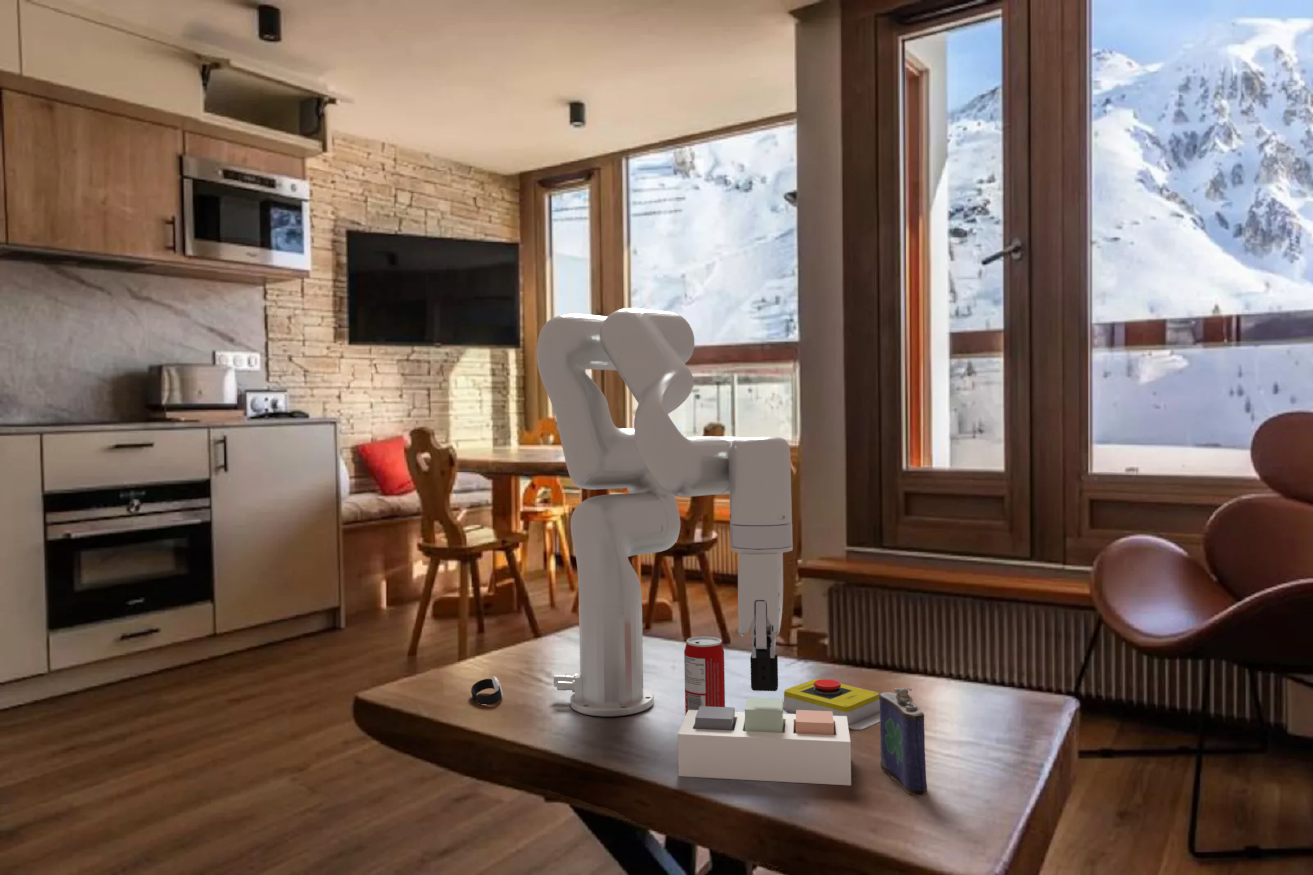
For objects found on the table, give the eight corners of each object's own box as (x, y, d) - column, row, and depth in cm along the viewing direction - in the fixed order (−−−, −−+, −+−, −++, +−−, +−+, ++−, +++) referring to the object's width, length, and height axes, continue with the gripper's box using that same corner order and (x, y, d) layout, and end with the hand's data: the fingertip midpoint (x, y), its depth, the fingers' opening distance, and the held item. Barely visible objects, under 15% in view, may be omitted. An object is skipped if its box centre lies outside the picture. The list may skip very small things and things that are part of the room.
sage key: (745, 742, 101) (744, 709, 101) (747, 730, 106) (747, 698, 106) (782, 744, 101) (781, 710, 101) (783, 731, 105) (782, 699, 105)
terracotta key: (796, 755, 100) (795, 721, 100) (796, 742, 105) (796, 709, 105) (834, 757, 100) (833, 723, 100) (832, 743, 104) (832, 711, 104)
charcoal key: (695, 750, 103) (695, 717, 103) (700, 737, 107) (699, 706, 107) (732, 752, 102) (731, 719, 102) (735, 739, 106) (734, 707, 106)
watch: (508, 705, 129) (508, 681, 129) (478, 710, 127) (478, 685, 127) (495, 691, 136) (494, 669, 136) (466, 696, 134) (465, 673, 134)
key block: (678, 776, 101) (677, 734, 101) (688, 748, 109) (688, 709, 109) (851, 785, 97) (850, 741, 97) (847, 756, 106) (846, 716, 106)
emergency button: (809, 668, 132) (895, 687, 121) (810, 696, 132) (896, 718, 121) (772, 680, 126) (859, 702, 115) (772, 710, 126) (860, 735, 115)
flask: (876, 765, 103) (875, 677, 103) (899, 763, 103) (898, 675, 103) (909, 797, 94) (908, 700, 94) (934, 795, 94) (933, 699, 94)
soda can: (727, 718, 121) (726, 634, 121) (722, 732, 115) (720, 644, 115) (689, 716, 122) (687, 633, 122) (682, 729, 117) (680, 642, 116)
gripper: (735, 531, 111) (738, 671, 111) (724, 545, 97) (728, 707, 96) (793, 531, 110) (796, 673, 110) (791, 545, 95) (795, 709, 95)
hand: (764, 688), depth 103 cm, fingers closed
